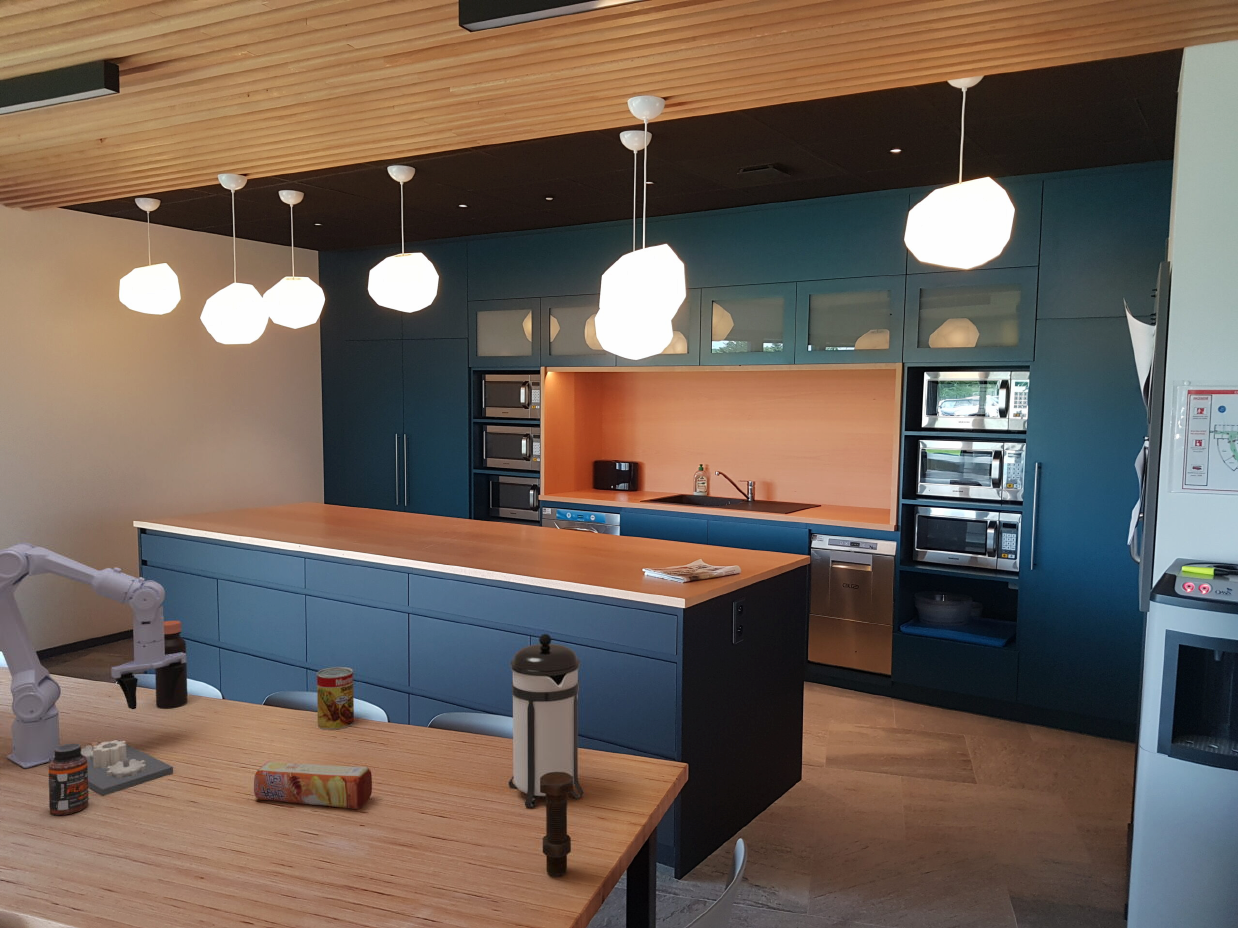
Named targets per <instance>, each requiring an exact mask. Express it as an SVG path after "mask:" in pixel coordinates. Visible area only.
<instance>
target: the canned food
mask: <svg viewBox="0 0 1238 928" xmlns="http://www.w3.org/2000/svg"><path fill="white" fill-rule="evenodd" d="M316 687H317V688H316V692H317V695H316V698H317V699H316V700H317V727H318V728H320V729H322V730H327V731H329V730H330V731H334V730H342V729H345V728H348V727H350V726H352V725H353V724H354V722H355V716H354V715H355V712H354V711H355V710H354V708H355V706H354V705H355V702H354V700H355V699H354V670H353V668H350V667H346V666H334V667H327V668H324V669H320V670H318V671H317V672H316Z"/></svg>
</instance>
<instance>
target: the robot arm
mask: <svg viewBox="0 0 1238 928" xmlns="http://www.w3.org/2000/svg"><path fill="white" fill-rule="evenodd" d="M48 573H49V574H53V575H56V576H59V577H63V578H66V579H68V580H69V579H70V580H72V581H75V582H79V583H82V584H84V585H85V584H86V585H88V586H90V587H91V589H92V591H93V592H94V594H95V595H98V596H101V597H104V598H105V599H109V600H112V601H115V602H118V603H120V604H123V605H129V607H130V609H131V610H133V620H132V630H133V635H132V636H133V660H132V661H129V662H127V663H122V664H121V665H120V664H119V665H116V666H113V667H111V670H110V671H111V678H114V679H115V681H116V682H117V684H118V686H120V689H121V691H122V693H123V695H124V698H125V701H126V704H127V708H129V709H130V710H136V709H137V686H138V681H139V679H138V677H135V675H134V674H137V673H141V672H146V671H149V670H150V671H151V670H155V668H160V667H162V670H163V675H164V683H165V698H167V699H169V700H172V699H173V696H174V692H175V688H176V685H177V682H178V680H179V677H180V676H181V674H182V672H183V670H184V665H181V663H186V662H187V653H186V654H185V653H182V652H181V653H175V654H168V655H165V645H164V622H165V619H164V618H165V617H164V607H163V606H164V605H163V604H162V603H163V602H164V600H165V597H166V591H165V588H164V587H163V585H161V584H160V583H158V582H157V581H155V580H152V579H151V580H149V579H148V580H145V578H144V577H142V576H140V577H135V576H133V575H130V574H127V573H124V572H122V569H121V568H120V567H117V566H115V567H114V568H110V567H106V568H103V569H101V570H97V569H96V568H93V567H91V566H88V565H85V564H84V563H81V562H79V561H76V560H74V559H72V558H69V557H66V556H64V555H62V554H58V553H57V552H54V551H52V550H50V549H47V548H45V547H41V546H34V545H33V544H31V543H28V542H19V543H15V544H13V545H11V546H10V547H7V548H5V549H1V550H0V651H1V653H2V656H3V657H4V661H5V663H6V666H7V668H8V670H9V673H10V675H11V683H10V693H11V695H12V702H11V710H12V712H13V714H14V715H15V718H14V720H13V722H12V723H11V728H10V729H11V747H12V748H11V750H12V753H11V754H8V755H7V756H6V758H7V759H8V760H10V761H12V762H13V763H16V765H18V766H19V767H22V768H23V769H28V768H32V767H35V766H39V765H42V764H45V763H46V764H47V763H49V758H53V757H55V756H54V755H55V748H57V747H58V746H61V745H60V742H61V741H60V722H59V720H60V719H59V716H60V715H59V709H58V708H57V706H56V703H57V701H58V700H59V699H60V696H61V693H62V690H61V686H60V684H59V683H58V682H57V681H56V680H55V679H54V678H53V677H51V676H52V675H50V672H49V670H48V669H47V668H46V667H44V666H43V665H42V664H41V662H40V659H39V656H38V654H37V652H36V649H35V646H34V644H33V641H32V638H31V636H30V633H29V631H28V628H27V626H26V623H25V621H24V618H23V616H22V614H21V609H20V608H19V605H18V603H17V601H16V597H15V595H14V593H15V592H16V591H17V588H18V587H19V586H20V585H21V583H22V581H23V580H24V579H25V578H26V577H27V576H28V577H30V576H37V575H43V574H48Z"/></svg>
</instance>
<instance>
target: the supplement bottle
mask: <svg viewBox="0 0 1238 928" xmlns="http://www.w3.org/2000/svg"><path fill="white" fill-rule="evenodd" d="M81 748H82V746H81V744H80V743H76V742H73V743H65V744H62V745H60V746H58V747H57V748H55V755H54V756H55V758H54V760H52V761H51V762H50V764H49V763H48V795H49V798H48V800H49V801H48V802H49V804H48V805H49V812H50V813H51V814H53V815H56V816H57V815H58V816H59V815H60V816H65V815H66V816H67V815H71V814H74V813H77V812H78V813H79V812H80V811H83V809H85V808H86V807H87V806H88V805H89V787H88V766H87V758H86V757H85V756H84V755H82V754H81Z"/></svg>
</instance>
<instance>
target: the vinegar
mask: <svg viewBox="0 0 1238 928" xmlns="http://www.w3.org/2000/svg"><path fill="white" fill-rule="evenodd" d="M181 634H182V622H181V621H179V620H166V621H164V645H165V655H168V654H175V653H181V652H182V653H185V654H186V655H187V642H186V641H185V639H183V637H181ZM181 665H184V670H183V672H182V674H181V676H180V677H179V680H178V682H177V685H176V688H175V692H174V696H173V699H172V700H169V699H167V698H165V683H164V675H163V670H162V667H160V668H155V669H154V672H155V673H154V677H155V679H154V680H155V702H156V703H155V704H156V705H155V706H156V707H157V708H160V709H174V708H179V707H182V706H184V705H186V704H187V703H188V700H189V699H188V673H187V672H188V669H187V668H188V667H187V666H188V663H187V661H186V663H181Z"/></svg>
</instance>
